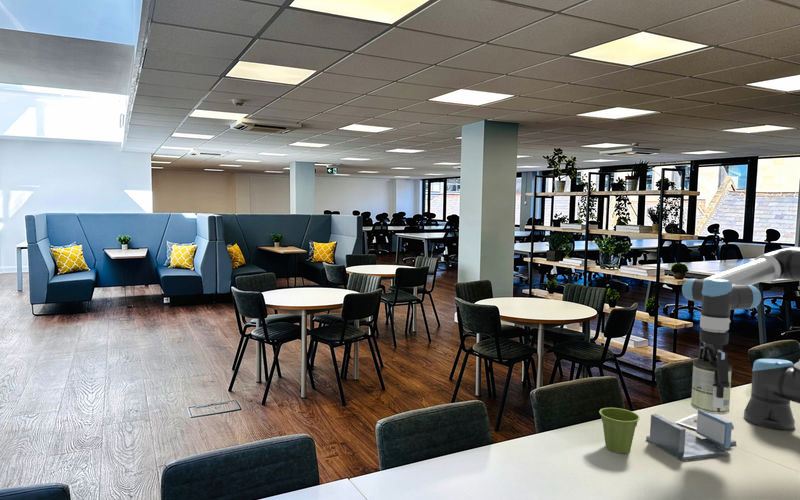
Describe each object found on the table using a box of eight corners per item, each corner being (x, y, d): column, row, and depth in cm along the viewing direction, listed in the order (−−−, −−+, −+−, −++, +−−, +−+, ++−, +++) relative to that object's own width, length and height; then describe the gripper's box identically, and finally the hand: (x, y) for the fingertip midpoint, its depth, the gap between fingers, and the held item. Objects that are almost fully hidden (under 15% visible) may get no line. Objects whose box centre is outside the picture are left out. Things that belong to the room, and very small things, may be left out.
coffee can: (692, 399, 164) (695, 356, 163) (730, 407, 157) (733, 362, 157) (687, 409, 155) (690, 363, 154) (727, 417, 149) (730, 370, 148)
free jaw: (715, 431, 173) (717, 408, 173) (745, 445, 163) (746, 420, 162) (695, 433, 171) (696, 410, 170) (723, 447, 160) (725, 423, 160)
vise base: (711, 432, 175) (713, 406, 175) (751, 452, 161) (753, 424, 160) (646, 439, 168) (647, 412, 168) (682, 461, 154) (684, 431, 153)
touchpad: (674, 424, 183) (674, 419, 183) (694, 416, 191) (695, 411, 191) (697, 432, 176) (697, 426, 176) (717, 423, 185) (717, 418, 185)
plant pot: (637, 445, 164) (639, 411, 163) (638, 460, 153) (640, 424, 153) (598, 437, 169) (600, 404, 168) (596, 452, 158) (598, 417, 158)
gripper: (746, 339, 143) (741, 416, 145) (711, 322, 165) (707, 389, 167) (717, 337, 144) (712, 413, 146) (686, 321, 167) (682, 388, 168)
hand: (709, 401), depth 156 cm, fingers closed on coffee can, 10 cm apart
